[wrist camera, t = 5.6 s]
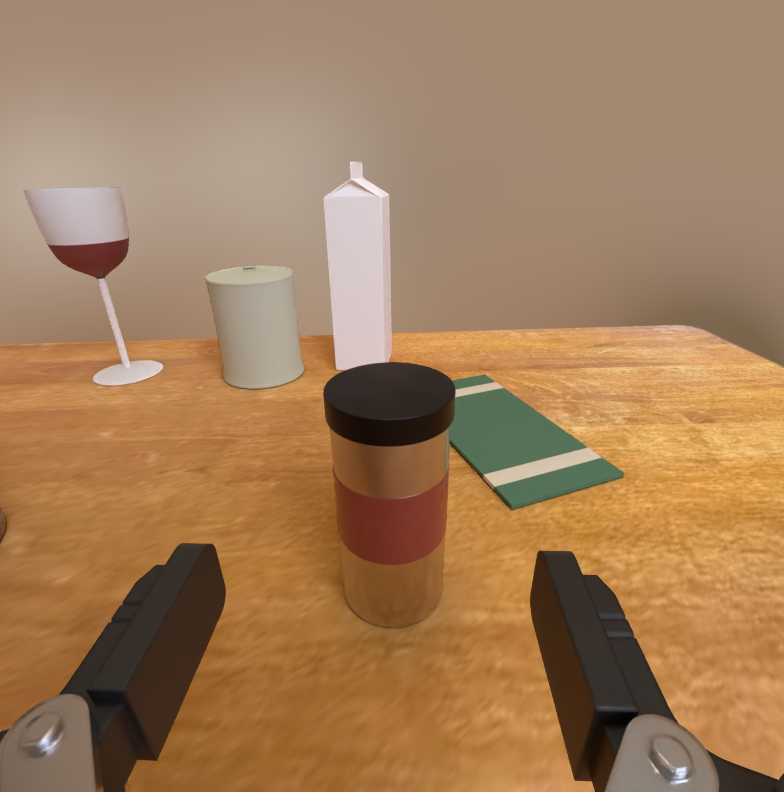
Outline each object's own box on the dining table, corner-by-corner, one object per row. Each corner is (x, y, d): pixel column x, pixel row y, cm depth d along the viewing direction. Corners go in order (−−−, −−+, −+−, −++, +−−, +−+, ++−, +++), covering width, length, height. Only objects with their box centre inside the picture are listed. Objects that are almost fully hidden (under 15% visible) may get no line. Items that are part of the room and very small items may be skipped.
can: (299, 354, 59) (288, 259, 53) (309, 382, 51) (298, 274, 45) (224, 363, 56) (205, 264, 51) (223, 394, 48) (200, 281, 43)
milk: (335, 371, 54) (318, 162, 44) (346, 352, 59) (333, 162, 49) (386, 372, 53) (380, 160, 43) (393, 353, 58) (388, 161, 48)
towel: (511, 510, 31) (512, 505, 31) (402, 392, 48) (403, 389, 48) (623, 477, 34) (624, 472, 34) (484, 377, 51) (485, 374, 51)
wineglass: (178, 358, 58) (136, 186, 49) (141, 387, 50) (84, 189, 41) (118, 358, 58) (65, 187, 49) (72, 387, 50) (0, 191, 42)
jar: (418, 650, 22) (422, 432, 17) (320, 603, 25) (295, 400, 19) (460, 566, 27) (473, 374, 21) (374, 534, 29) (366, 354, 24)
